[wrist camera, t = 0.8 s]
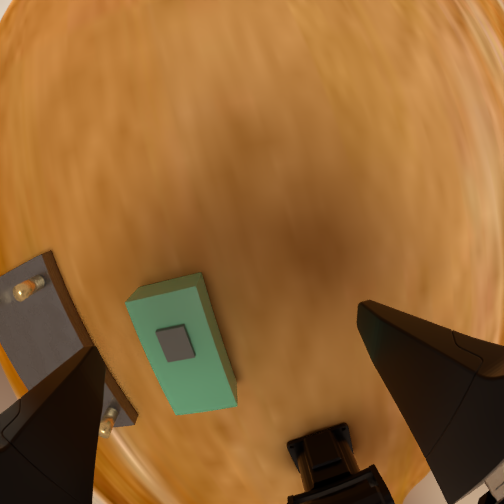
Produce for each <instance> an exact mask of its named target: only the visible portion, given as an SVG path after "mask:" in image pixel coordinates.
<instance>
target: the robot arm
mask: <svg viewBox="0 0 504 504" xmlns="http://www.w3.org/2000/svg"><path fill="white" fill-rule="evenodd" d="M357 328H358V330H359V333H360V335H361V337H362V339H363V342H364V344H365V346H366V348H367V351H368V353H369V355H370V358H371V360H372V362H373V364H374V366H375V368H376V369H377V371H378V373H379V374H380V376H381V378H382V380H383V381H384V383H385V385H386V387H387V388H388V390H389V392H390V394H391V395H392V397H393V399H394V401H395V403H396V404H397V406H398V408H399V410H400V412H401V413H402V415H403V417H404V419H405V421H406V423H407V424H408V426H409V428H410V430H411V432H412V434H413V436H414V437H415V439H416V441H417V443H418V445H419V447H420V449H421V451H422V453H423V455H424V457H425V458H426V461H427V463H428V465H429V467H430V469H431V471H432V473H433V475H434V477H435V479H436V481H437V483H438V485H439V486H440V489H441V491H442V493H443V495H444V497H445V499H446V501H447V503H448V504H455V503H456V502H458V501H459V500H461V499H462V498H464V497H465V496H467V495H468V494H470V493H471V492H472V491H474V490H475V489H476V488H478V487H479V486H480V485H482V484H483V483H484V482H485V484H486V486H487V487H488V489H489V491H488V492H487V493H486V494H484V495H483V496H482V497H480V498H479V501H478V504H504V346H502V345H498V344H494V343H491V342H487V341H484V340H480V339H477V338H473V337H470V336H468V335H465V334H462V333H459V332H456V331H454V330H453V331H452V330H451V329H448V328H445V327H443V326H440V325H437V324H434V323H432V322H429V321H426V320H424V319H421V318H418V317H415V316H413V315H410V314H407V313H405V312H402V311H399V310H396V309H394V308H391V307H388V306H386V305H383V304H380V303H377V302H375V301H372V300H366V301H362V302H360V303H359V304H358V311H357ZM105 374H106V366H105V363H104V361H103V359H102V357H101V355H100V353H99V351H98V349H97V348H96V347H95V346H84V347H83V348H81V349H80V350H79V351H78V352H76V353H75V354H74V355H73V356H71V357H70V358H69V359H68V360H66V361H65V362H64V363H63V364H61V365H60V366H59V367H58V368H56V369H55V370H54V371H53V372H51V373H50V374H49V375H48V376H47V377H45V378H44V379H43V380H42V381H40V382H39V383H38V384H37V385H36V386H34V387H33V388H32V389H31V390H29V391H28V392H27V393H26V394H25V395H23V396H22V397H21V399H19V400H17V401H16V402H15V403H14V404H13V405H11V406H10V407H9V408H8V409H6V410H5V411H4V412H3V413H1V414H0V504H92V495H93V480H94V469H95V459H96V451H97V443H98V435H99V428H100V422H101V415H102V409H103V400H104V386H105ZM287 449H288V451H289V453H290V455H291V457H292V459H293V461H294V463H295V465H296V467H297V469H298V471H299V473H300V474H301V478H302V482H303V486H304V490H305V492H304V493H301V494H298V495H294V496H293V495H292V496H288V497H287V498H288V503H287V504H395V503H394V500H393V498H392V496H391V494H390V492H389V490H388V488H387V486H386V484H385V482H384V481H383V479H382V477H381V475H380V474H379V472H378V470H377V468H376V467H375V465H374V464H373V465H371V466H369V467H368V468H366V469H364V470H362V471H360V469H359V467H358V465H357V462H356V460H355V458H354V456H353V454H354V453H353V448H352V443H351V438H350V433H349V428H348V426H347V424H346V423H343V424H340V425H338V426H335V427H332V428H330V429H327V430H324V431H321V432H318V433H316V434H313V435H310V436H307V437H304V438H300V439H297V440H294V441H291V442H288V443H287Z"/></svg>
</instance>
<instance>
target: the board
mask: <svg viewBox="0 0 504 504" xmlns="http://www.w3.org/2000/svg"><path fill="white" fill-rule="evenodd" d="M125 304H126V307H127V310H128V312H129V315H130V317H131V320H132V322H133V325H134V327H135V330H136V332H137V335H138V337H139V339H140V342H141V344H142V346H143V349H144V351H145V353H146V356H147V358H148V360H149V362H150V364H151V367H152V369H153V371H154V373H155V375H156V377H157V379H158V381H159V383H160V385H161V387H162V389H163V391H164V393H165V395H166V397H167V399H168V401H169V403H170V405H171V407H172V409H173V411H174V413H175V414H176V415H184V414H192V413H199V412H206V411H212V410H219V409H225V408H230V407H236V406H237V382H236V379H235V376H234V373H233V370H232V367H231V364H230V361H229V358H228V355H227V352H226V349H225V346H224V343H223V340H222V337H221V334H220V331H219V328H218V325H217V322H216V319H215V316H214V312H213V309H212V306H211V303H210V299H209V296H208V293H207V290H206V286H205V283H204V279H203V276H202V273H201V272H199V273H195V274H191V275H187V276H183V277H179V278H175V279H170V280H166V281H162V282H158V283H154V284H150V285H146V286H142V287H139V288H138V289H137V290H136V291H135V292H134V293H133V294H132V295H131V296H130V297H129V299H128V300H127V301H126V302H125Z"/></svg>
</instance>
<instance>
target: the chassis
mask: <svg viewBox="0 0 504 504" xmlns="http://www.w3.org/2000/svg"><path fill="white" fill-rule="evenodd" d="M0 343H1V345H2V347H3V348H4V350H5V352H6V354H7V356H8V358H9V359H10V361H11V363H12V365H13V366H14V368H15V370H16V371H17V373H18V375H19V376H20V378H21V379H22V381H23V383H24V384H25V386H26V387H27V389H28V390H31V389H32V388H33V387H34V386H36V385H37V384H38V383H39V382H40V381H42V380H43V379H44V378H45V377H47V376H48V375H49V374H50V373H51V372H53V371H54V370H55V369H56V368H58V367H59V366H60V365H61V364H63V363H64V362H65V361H66V360H68V359H69V358H70V357H71V356H73V355H74V354H75V353H76V352H78V351H79V350H80V349H81V348H83V347H84V346H94V344H93V342H92V340H91V338H90V337H89V335H88V333H87V331H86V329H85V327H84V325H83V323H82V321H81V319H80V317H79V315H78V313H77V311H76V309H75V307H74V304H73V302H72V300H71V298H70V296H69V293H68V291H67V289H66V287H65V284H64V282H63V280H62V277H61V275H60V272H59V270H58V267H57V265H56V262H55V260H54V257H53V254H52V251H48V252H46V253H43V254H41V255H39V256H37V257H35V258H33V259H31V260H29V261H28V262H26V263H24V264H22V265H20V266H19V267H17V268H15V269H13V270H11V271H10V272H8V273H6V274H4V275H3V276H1V277H0ZM105 366H106V365H105ZM137 417H138V414H137V413H136V411H135V410H134V408H133V407H132V405H131V404H130V403H129V401H128V400H127V398H126V397H125V395H124V394H123V392H122V391H121V389H120V388H119V386H118V384H117V383H116V381H115V380H114V378H113V377H112V375H111V373H110V372H109V370H108V368H107V367H106V374H105V386H104V400H103V409H102V415H101V422H100V428H99V436H101V437H103V438H108V437H109V435H110V433H111V430H112V428H113V427H121V426H130V425H135V423H136V420H137Z"/></svg>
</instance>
